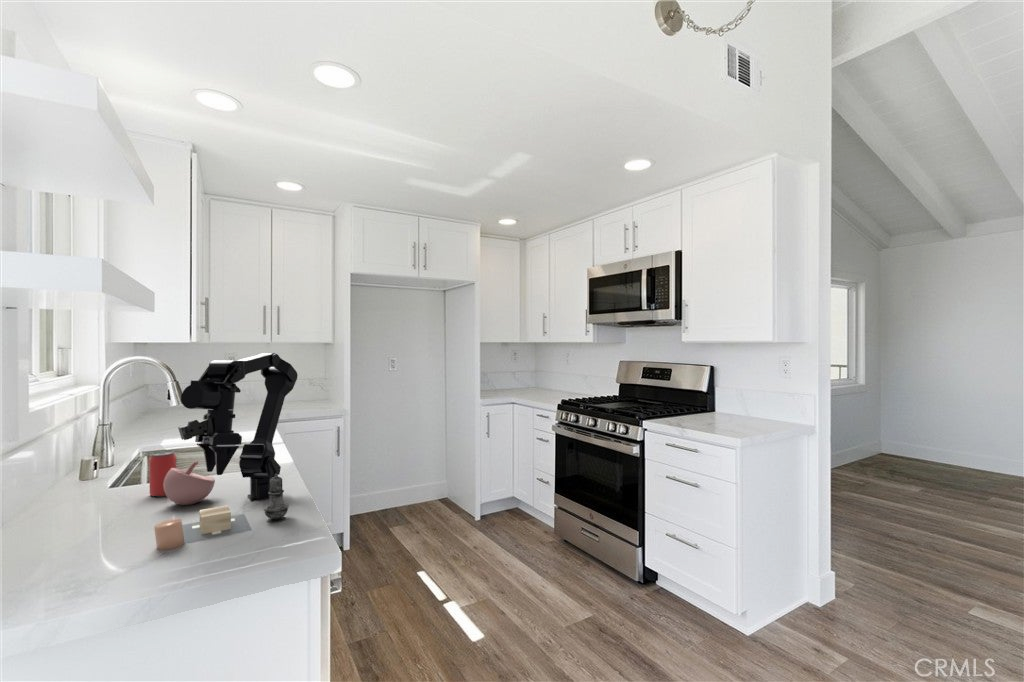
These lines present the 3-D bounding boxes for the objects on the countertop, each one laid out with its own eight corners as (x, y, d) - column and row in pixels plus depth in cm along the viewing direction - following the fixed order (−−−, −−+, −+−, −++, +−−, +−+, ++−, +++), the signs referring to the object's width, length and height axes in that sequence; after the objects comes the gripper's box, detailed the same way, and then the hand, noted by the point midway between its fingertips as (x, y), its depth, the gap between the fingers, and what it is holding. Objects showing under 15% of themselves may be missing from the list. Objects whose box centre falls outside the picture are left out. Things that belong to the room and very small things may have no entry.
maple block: (199, 526, 122) (199, 510, 122) (228, 521, 126) (227, 505, 126) (201, 534, 117) (201, 517, 117) (230, 528, 121) (230, 512, 121)
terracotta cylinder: (157, 545, 112) (154, 523, 112) (184, 538, 115) (181, 517, 115) (156, 553, 108) (153, 530, 108) (184, 546, 111) (181, 523, 111)
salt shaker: (279, 526, 123) (278, 477, 123) (257, 524, 124) (257, 475, 124) (294, 518, 129) (293, 470, 129) (273, 516, 130) (273, 469, 130)
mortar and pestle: (222, 502, 141) (221, 461, 141) (172, 514, 132) (171, 470, 132) (205, 494, 149) (205, 455, 149) (157, 504, 140) (157, 463, 140)
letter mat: (179, 527, 123) (179, 525, 123) (244, 515, 131) (244, 513, 131) (181, 546, 112) (181, 544, 112) (252, 532, 120) (252, 530, 120)
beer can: (171, 489, 154) (170, 449, 154) (180, 493, 150) (180, 452, 150) (145, 494, 149) (145, 453, 149) (155, 498, 145) (154, 456, 145)
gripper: (175, 409, 130) (168, 472, 128) (192, 409, 117) (184, 479, 115) (224, 410, 138) (218, 469, 136) (245, 410, 124) (239, 476, 122)
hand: (214, 473), depth 127 cm, fingers open, 9 cm apart
